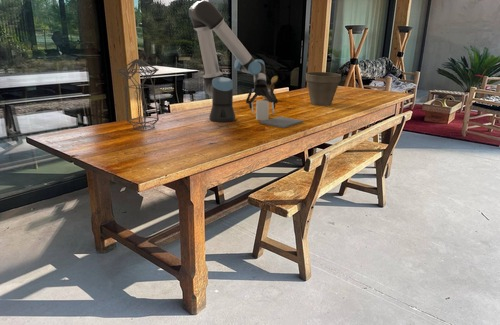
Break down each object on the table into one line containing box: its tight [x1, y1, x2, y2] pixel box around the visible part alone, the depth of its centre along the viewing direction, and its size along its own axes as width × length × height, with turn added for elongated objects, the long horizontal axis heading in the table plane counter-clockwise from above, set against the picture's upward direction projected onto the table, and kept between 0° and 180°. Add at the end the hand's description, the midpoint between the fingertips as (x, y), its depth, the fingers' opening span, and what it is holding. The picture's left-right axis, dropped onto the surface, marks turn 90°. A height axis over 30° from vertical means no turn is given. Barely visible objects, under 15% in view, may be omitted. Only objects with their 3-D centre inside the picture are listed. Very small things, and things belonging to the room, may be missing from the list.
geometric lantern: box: [117, 58, 160, 132], centre depth 197 cm, size 16×16×35 cm
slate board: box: [259, 116, 304, 129], centre depth 222 cm, size 20×16×1 cm
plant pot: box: [305, 71, 342, 107], centre depth 280 cm, size 25×25×22 cm
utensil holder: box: [262, 75, 279, 102], centre depth 292 cm, size 9×14×18 cm, turn 138°
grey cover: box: [255, 99, 270, 121], centre depth 229 cm, size 7×7×10 cm
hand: (262, 112), depth 226 cm, fingers open, 11 cm apart
